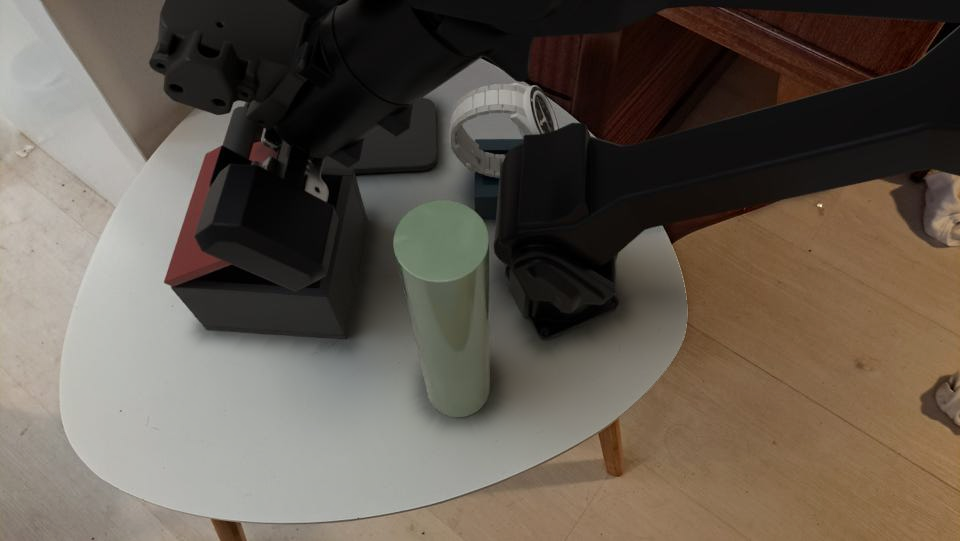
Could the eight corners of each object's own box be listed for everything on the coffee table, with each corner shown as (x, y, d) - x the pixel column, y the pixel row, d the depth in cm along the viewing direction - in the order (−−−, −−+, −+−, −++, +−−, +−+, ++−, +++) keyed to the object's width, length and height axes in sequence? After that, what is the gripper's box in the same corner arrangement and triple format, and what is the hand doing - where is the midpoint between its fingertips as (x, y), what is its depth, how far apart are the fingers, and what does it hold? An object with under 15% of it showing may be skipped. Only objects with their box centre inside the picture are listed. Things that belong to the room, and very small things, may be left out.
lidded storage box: (367, 218, 57) (353, 167, 52) (345, 339, 52) (327, 298, 47) (239, 211, 58) (211, 159, 52) (205, 329, 53) (170, 287, 47)
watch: (554, 219, 57) (567, 128, 48) (452, 219, 57) (445, 128, 48) (551, 162, 60) (563, 65, 50) (454, 162, 60) (447, 65, 50)
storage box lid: (319, 103, 46) (265, 61, 43) (285, 245, 41) (221, 207, 38) (213, 159, 52) (160, 125, 49) (172, 287, 47) (110, 258, 44)
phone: (437, 165, 59) (251, 174, 58) (438, 171, 60) (254, 180, 59) (435, 96, 62) (260, 104, 62) (435, 102, 63) (262, 110, 63)
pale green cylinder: (474, 348, 52) (465, 186, 34) (500, 402, 50) (505, 259, 33) (417, 372, 51) (378, 219, 34) (441, 428, 49) (414, 296, 32)
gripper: (276, -195, 34) (143, -14, 44) (160, 114, 25) (26, 252, 35) (450, -42, 40) (299, 85, 51) (407, 245, 32) (234, 329, 42)
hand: (226, 173), depth 44 cm, fingers closed on storage box lid, 5 cm apart
